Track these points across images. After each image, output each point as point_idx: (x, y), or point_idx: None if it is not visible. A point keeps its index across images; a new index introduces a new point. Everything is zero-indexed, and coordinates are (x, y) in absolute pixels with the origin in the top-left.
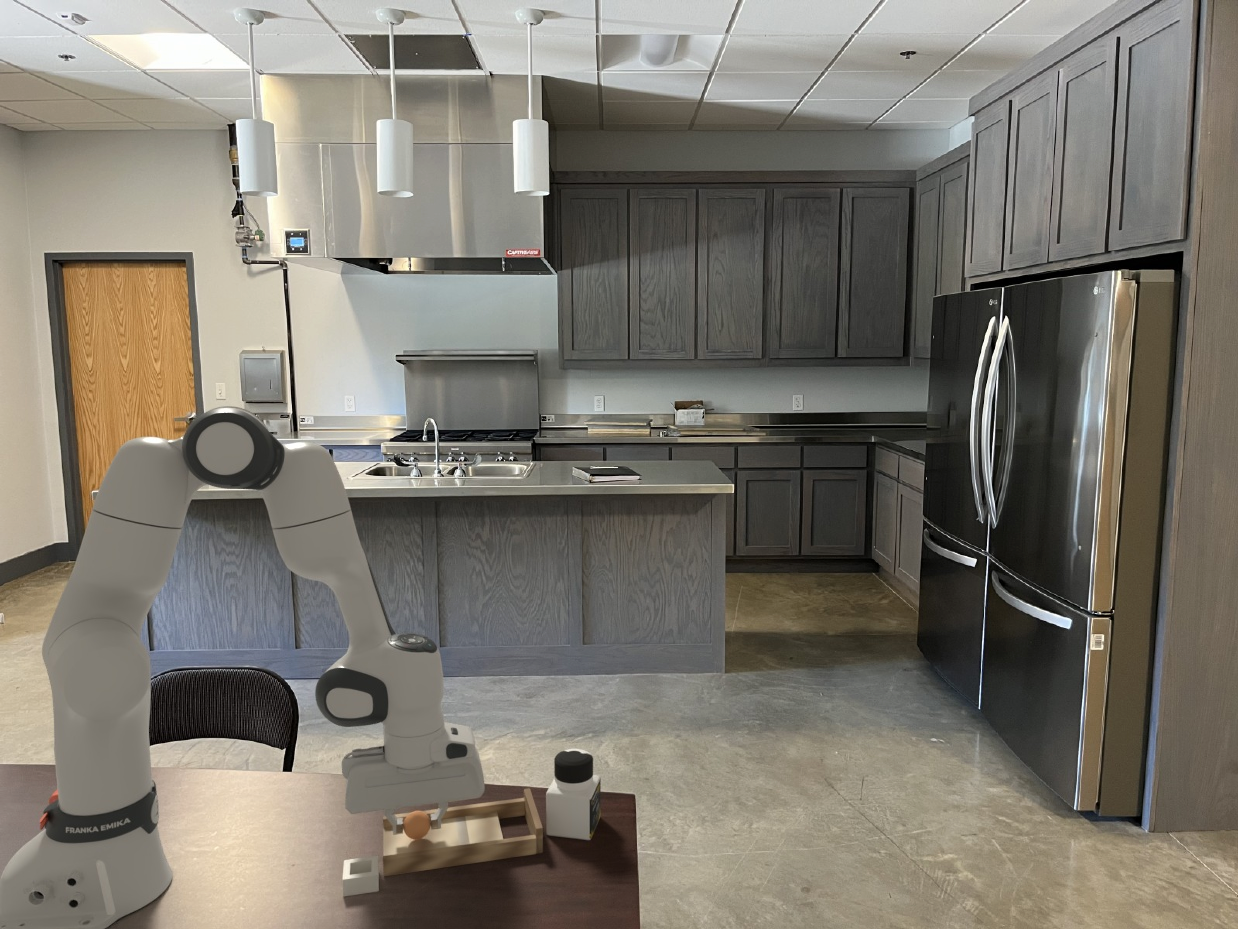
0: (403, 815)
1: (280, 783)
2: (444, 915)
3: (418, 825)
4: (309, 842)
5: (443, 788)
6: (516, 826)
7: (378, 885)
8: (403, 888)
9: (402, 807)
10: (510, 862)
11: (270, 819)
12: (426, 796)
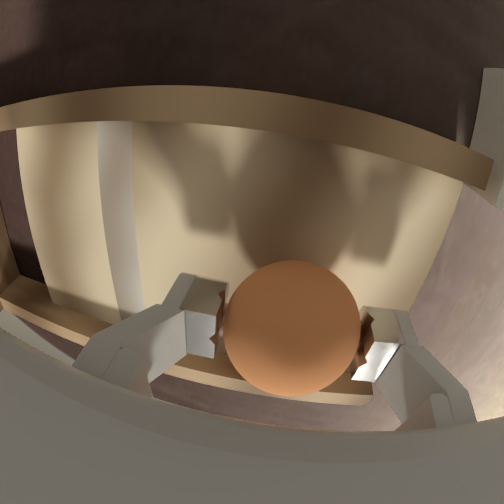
0: (308, 395)
1: None
2: None
3: (298, 304)
4: (493, 366)
5: (21, 467)
6: (24, 243)
7: (496, 68)
8: (406, 28)
9: (410, 433)
10: (29, 78)
11: (481, 419)
12: (191, 488)
